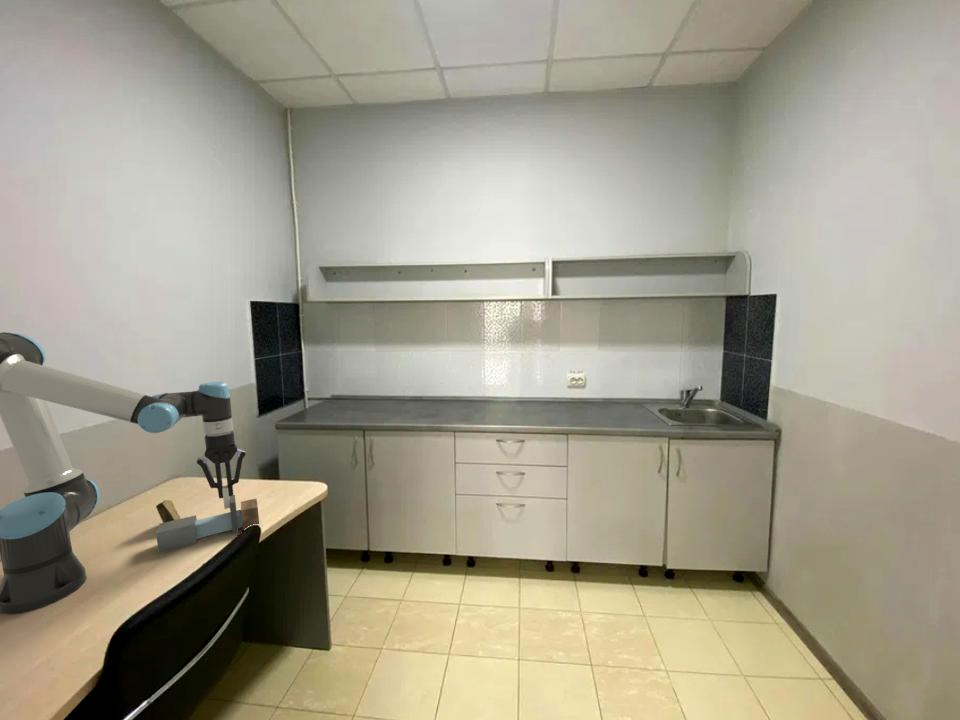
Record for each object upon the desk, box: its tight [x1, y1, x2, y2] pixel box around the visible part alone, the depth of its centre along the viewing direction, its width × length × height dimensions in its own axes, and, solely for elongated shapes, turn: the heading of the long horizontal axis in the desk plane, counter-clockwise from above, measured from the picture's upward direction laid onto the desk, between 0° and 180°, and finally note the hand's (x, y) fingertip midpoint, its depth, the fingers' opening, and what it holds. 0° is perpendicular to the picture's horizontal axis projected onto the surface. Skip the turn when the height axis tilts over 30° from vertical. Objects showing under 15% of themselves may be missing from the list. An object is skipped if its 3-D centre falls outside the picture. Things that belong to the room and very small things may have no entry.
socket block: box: [240, 497, 260, 531], centre depth 132 cm, size 4×7×7 cm, turn 31°
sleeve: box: [155, 514, 199, 555], centre depth 122 cm, size 9×6×6 cm
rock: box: [155, 499, 181, 523], centre depth 133 cm, size 11×9×10 cm
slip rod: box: [195, 494, 243, 539], centre depth 127 cm, size 18×6×10 cm, turn 121°
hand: (227, 506), depth 128 cm, fingers closed
